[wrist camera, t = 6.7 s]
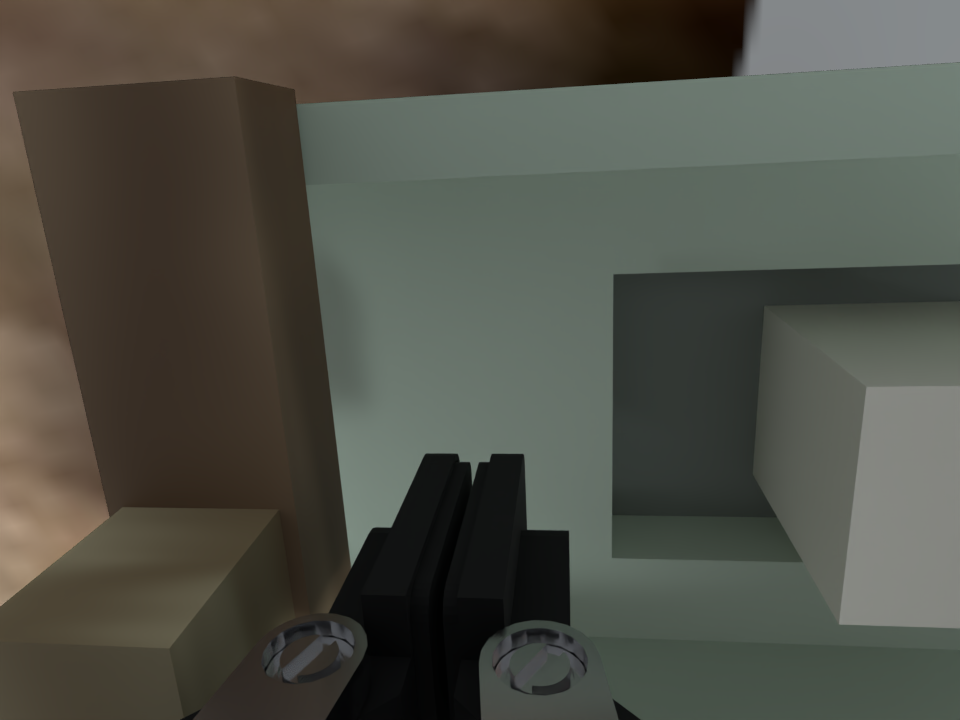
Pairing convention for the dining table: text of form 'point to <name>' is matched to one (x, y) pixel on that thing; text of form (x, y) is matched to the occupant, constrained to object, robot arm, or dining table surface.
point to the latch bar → (180, 397)
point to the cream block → (866, 454)
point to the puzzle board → (636, 345)
